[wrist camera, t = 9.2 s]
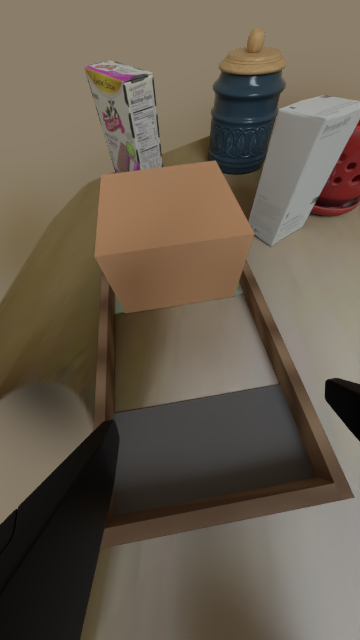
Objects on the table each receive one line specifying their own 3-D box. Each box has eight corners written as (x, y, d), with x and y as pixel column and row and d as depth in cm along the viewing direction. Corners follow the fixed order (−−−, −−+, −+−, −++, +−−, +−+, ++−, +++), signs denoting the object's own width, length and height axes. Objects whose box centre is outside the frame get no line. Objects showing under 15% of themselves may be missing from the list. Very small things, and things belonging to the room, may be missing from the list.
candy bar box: (118, 188, 43) (81, 66, 28) (137, 179, 44) (112, 59, 30) (147, 210, 38) (121, 78, 24) (167, 200, 40) (155, 69, 25)
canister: (196, 165, 46) (200, 32, 31) (226, 145, 51) (242, 20, 35) (246, 181, 42) (279, 35, 26) (274, 157, 46) (315, 21, 31)
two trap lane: (331, 488, 17) (354, 497, 15) (101, 534, 16) (86, 551, 14) (215, 210, 37) (217, 195, 35) (110, 224, 37) (105, 210, 34)
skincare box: (270, 247, 32) (327, 121, 19) (243, 229, 34) (276, 106, 21) (304, 226, 34) (375, 99, 21) (276, 210, 36) (323, 88, 23)
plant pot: (372, 221, 34) (454, 127, 23) (293, 223, 34) (338, 133, 24) (342, 181, 40) (395, 93, 30) (276, 184, 41) (306, 99, 30)
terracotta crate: (233, 296, 27) (254, 233, 18) (125, 313, 27) (94, 256, 18) (209, 228, 34) (215, 160, 26) (124, 240, 34) (101, 175, 25)
